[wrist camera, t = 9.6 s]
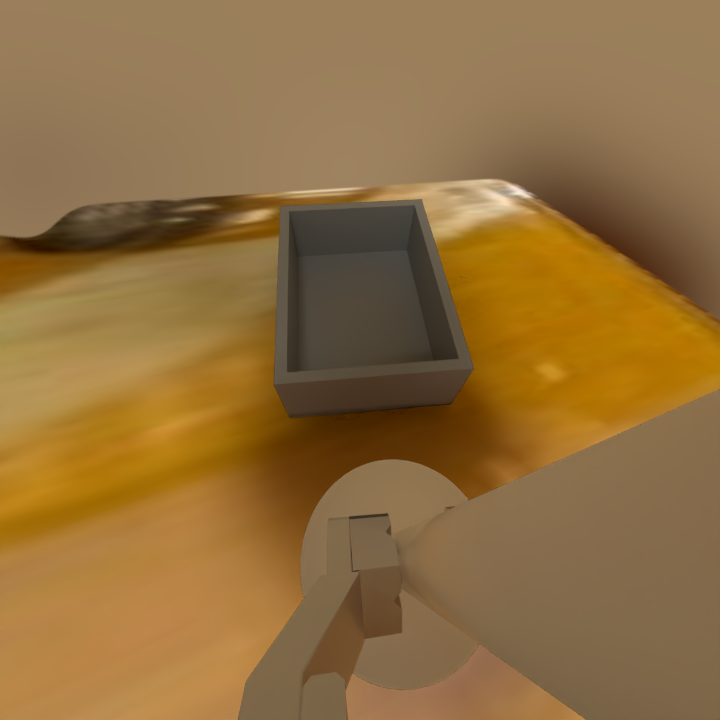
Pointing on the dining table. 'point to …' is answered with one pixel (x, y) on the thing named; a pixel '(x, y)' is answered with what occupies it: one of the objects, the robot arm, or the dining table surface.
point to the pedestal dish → (558, 571)
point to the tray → (364, 311)
